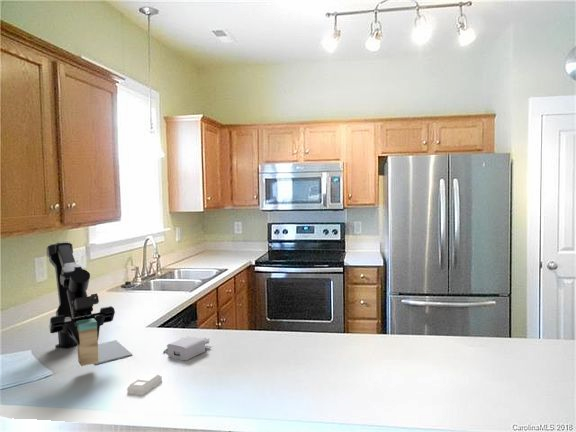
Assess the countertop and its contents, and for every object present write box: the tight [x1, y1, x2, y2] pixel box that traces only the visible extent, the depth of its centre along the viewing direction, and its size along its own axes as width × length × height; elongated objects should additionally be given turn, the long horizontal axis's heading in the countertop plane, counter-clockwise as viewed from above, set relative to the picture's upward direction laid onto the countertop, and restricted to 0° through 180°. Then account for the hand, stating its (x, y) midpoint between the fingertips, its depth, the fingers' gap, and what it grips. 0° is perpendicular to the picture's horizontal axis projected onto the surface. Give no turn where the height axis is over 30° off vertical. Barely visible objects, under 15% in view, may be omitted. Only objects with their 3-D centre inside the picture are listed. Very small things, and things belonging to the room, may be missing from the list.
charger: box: [166, 335, 210, 361], centre depth 147 cm, size 5×9×15 cm
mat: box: [93, 340, 133, 366], centre depth 150 cm, size 20×12×1 cm, turn 37°
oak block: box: [76, 318, 99, 367], centre depth 132 cm, size 5×5×13 cm
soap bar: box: [126, 373, 163, 396], centre depth 120 cm, size 5×9×3 cm, turn 162°
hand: (88, 342), depth 131 cm, fingers closed on oak block, 5 cm apart
